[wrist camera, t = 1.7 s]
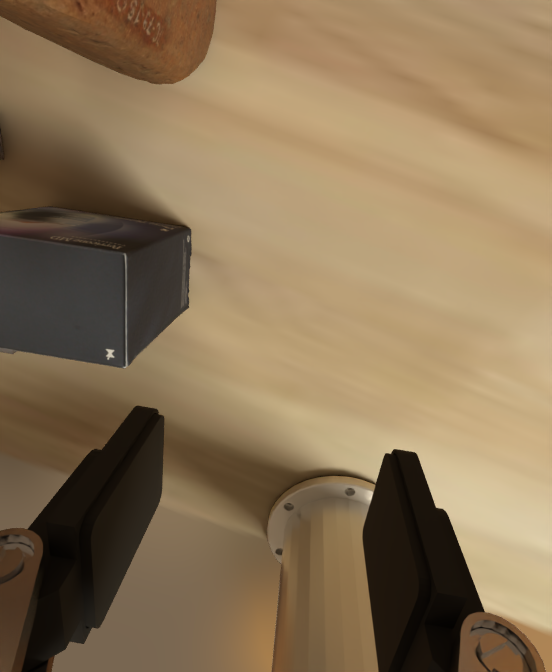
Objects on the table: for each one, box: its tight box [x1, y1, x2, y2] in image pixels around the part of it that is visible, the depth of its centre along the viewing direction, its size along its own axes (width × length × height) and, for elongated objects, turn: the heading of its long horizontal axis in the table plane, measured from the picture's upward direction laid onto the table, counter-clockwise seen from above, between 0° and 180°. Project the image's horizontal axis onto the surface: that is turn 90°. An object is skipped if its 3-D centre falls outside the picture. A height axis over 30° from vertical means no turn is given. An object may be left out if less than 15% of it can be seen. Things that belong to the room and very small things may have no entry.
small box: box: [0, 207, 191, 368], centre depth 25 cm, size 11×6×10 cm, turn 83°
